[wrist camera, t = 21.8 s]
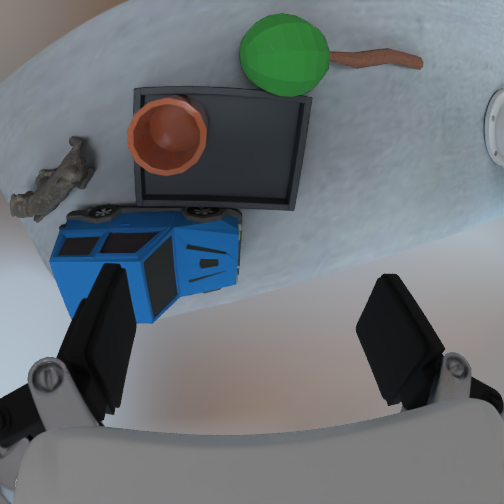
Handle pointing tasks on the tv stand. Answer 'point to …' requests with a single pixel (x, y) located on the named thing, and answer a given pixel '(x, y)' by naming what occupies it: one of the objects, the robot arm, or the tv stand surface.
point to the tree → (301, 55)
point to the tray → (234, 151)
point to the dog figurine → (53, 186)
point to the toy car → (148, 253)
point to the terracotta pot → (169, 134)
